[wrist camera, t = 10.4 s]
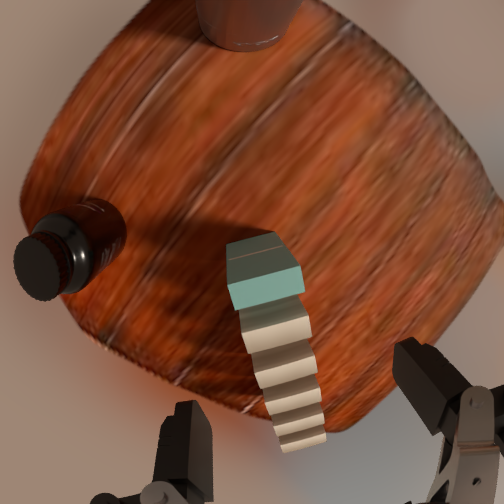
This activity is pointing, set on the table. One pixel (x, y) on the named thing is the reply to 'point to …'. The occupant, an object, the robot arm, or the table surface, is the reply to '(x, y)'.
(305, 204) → the table surface
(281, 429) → the domino
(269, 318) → the domino
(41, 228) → the supplement bottle
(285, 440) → the domino
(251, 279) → the domino
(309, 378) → the domino
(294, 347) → the domino
